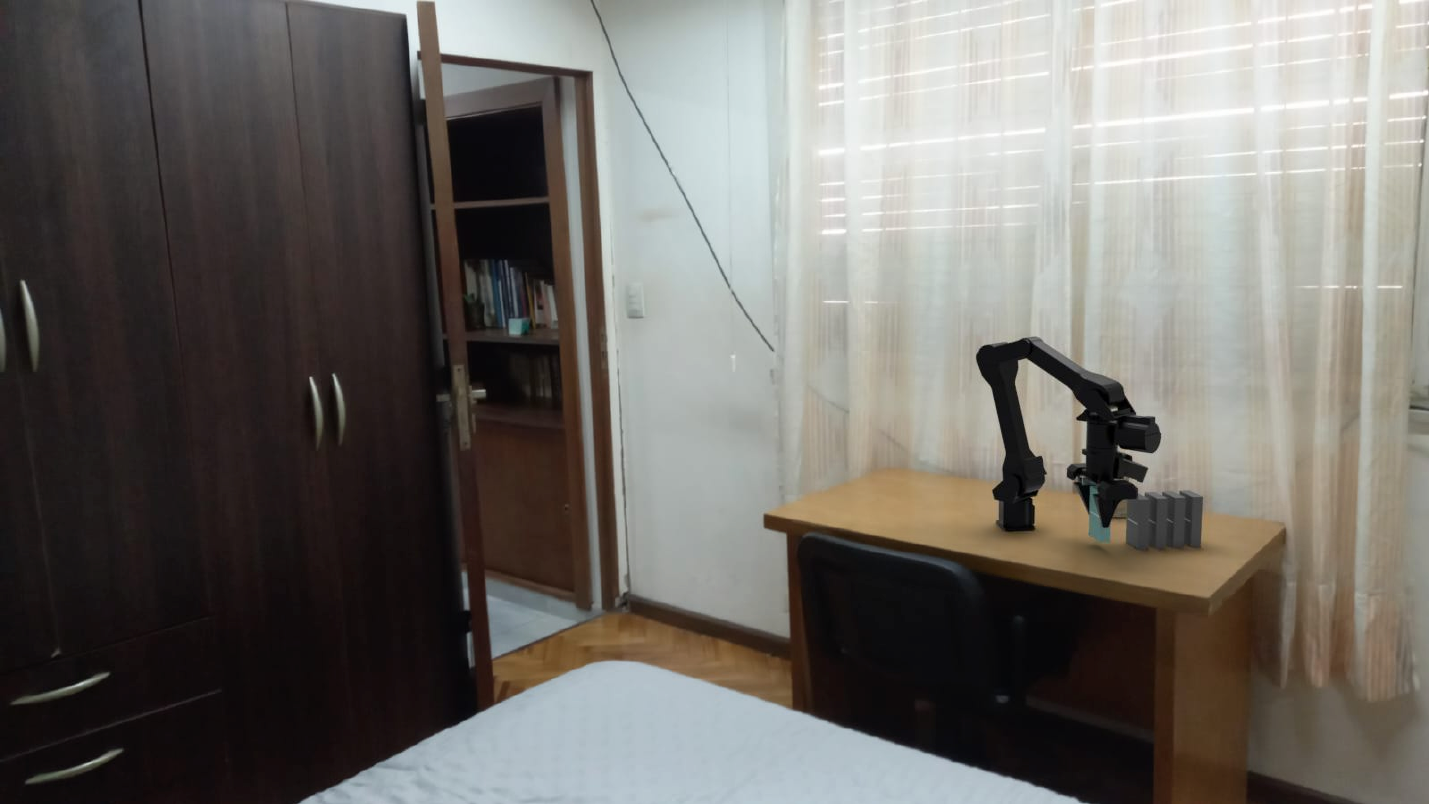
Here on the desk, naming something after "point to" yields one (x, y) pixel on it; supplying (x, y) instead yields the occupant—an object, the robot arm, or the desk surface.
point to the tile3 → (1157, 520)
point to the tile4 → (1175, 519)
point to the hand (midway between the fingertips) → (1099, 523)
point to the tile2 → (1138, 522)
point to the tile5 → (1192, 518)
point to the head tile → (1097, 520)
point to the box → (1121, 505)
